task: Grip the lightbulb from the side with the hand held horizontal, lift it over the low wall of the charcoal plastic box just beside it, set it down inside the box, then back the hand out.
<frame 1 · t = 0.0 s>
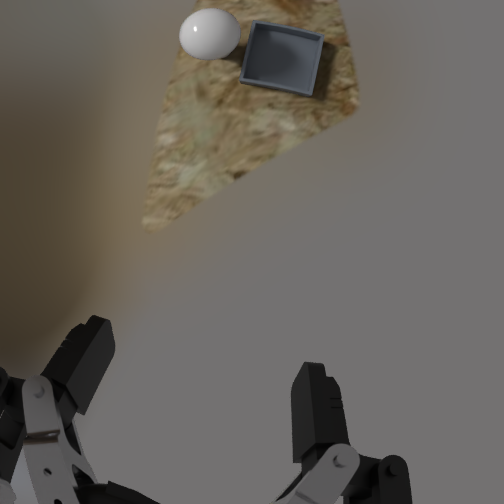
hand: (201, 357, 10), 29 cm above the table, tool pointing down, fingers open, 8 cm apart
walled box: (281, 59, 28), on the table
lightbulb: (222, 51, 28), on the table
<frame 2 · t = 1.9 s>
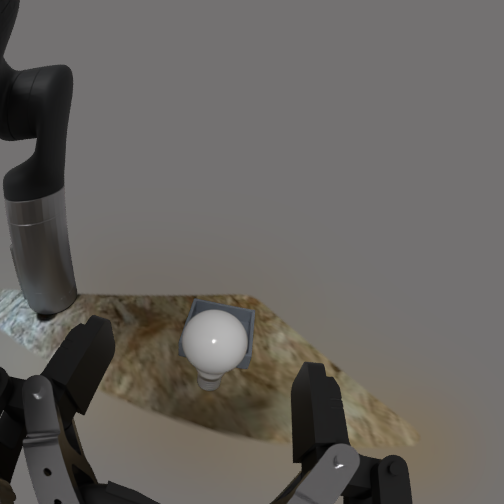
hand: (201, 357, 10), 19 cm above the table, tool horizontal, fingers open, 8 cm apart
walled box: (217, 338, 36), on the table
lightbulb: (208, 385, 29), on the table
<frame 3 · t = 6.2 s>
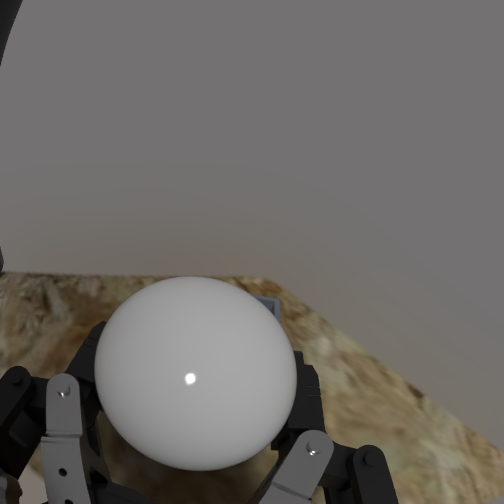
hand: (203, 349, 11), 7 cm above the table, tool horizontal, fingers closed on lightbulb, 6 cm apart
walled box: (211, 352, 18), on the table
lightbulb: (190, 451, 12), on the table, touching gripper
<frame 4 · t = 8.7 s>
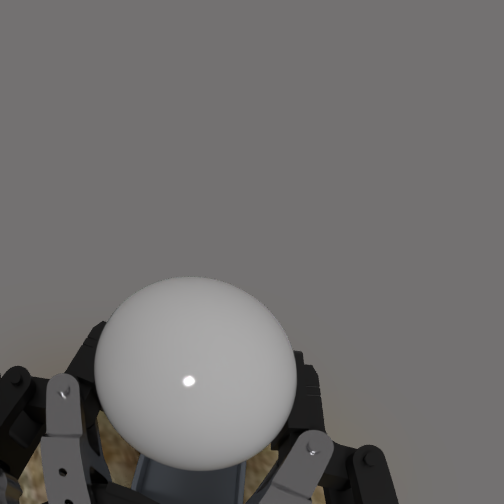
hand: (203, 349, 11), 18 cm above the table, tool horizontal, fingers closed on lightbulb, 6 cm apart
walled box: (190, 481, 17), on the table
lightbulb: (190, 451, 12), point 11 cm above the table, touching gripper
when the fingers open (8 cm above the table, at t = 11.7 s): lightbulb drops 1 cm, resting on walled box.
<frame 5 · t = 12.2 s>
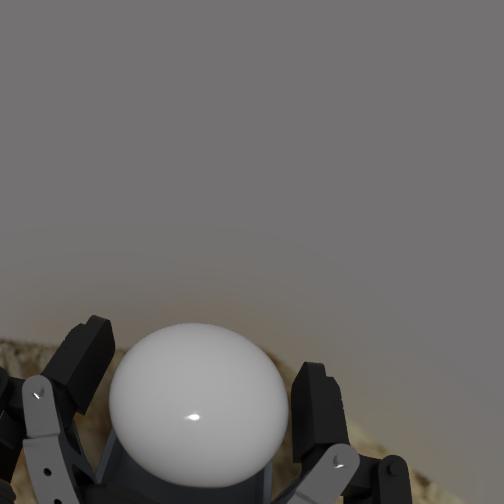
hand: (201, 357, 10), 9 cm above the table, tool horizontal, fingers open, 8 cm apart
walled box: (190, 460, 12), on the table
lightbulb: (191, 462, 12), resting on walled box
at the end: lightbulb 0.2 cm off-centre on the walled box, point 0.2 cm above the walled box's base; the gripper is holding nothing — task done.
